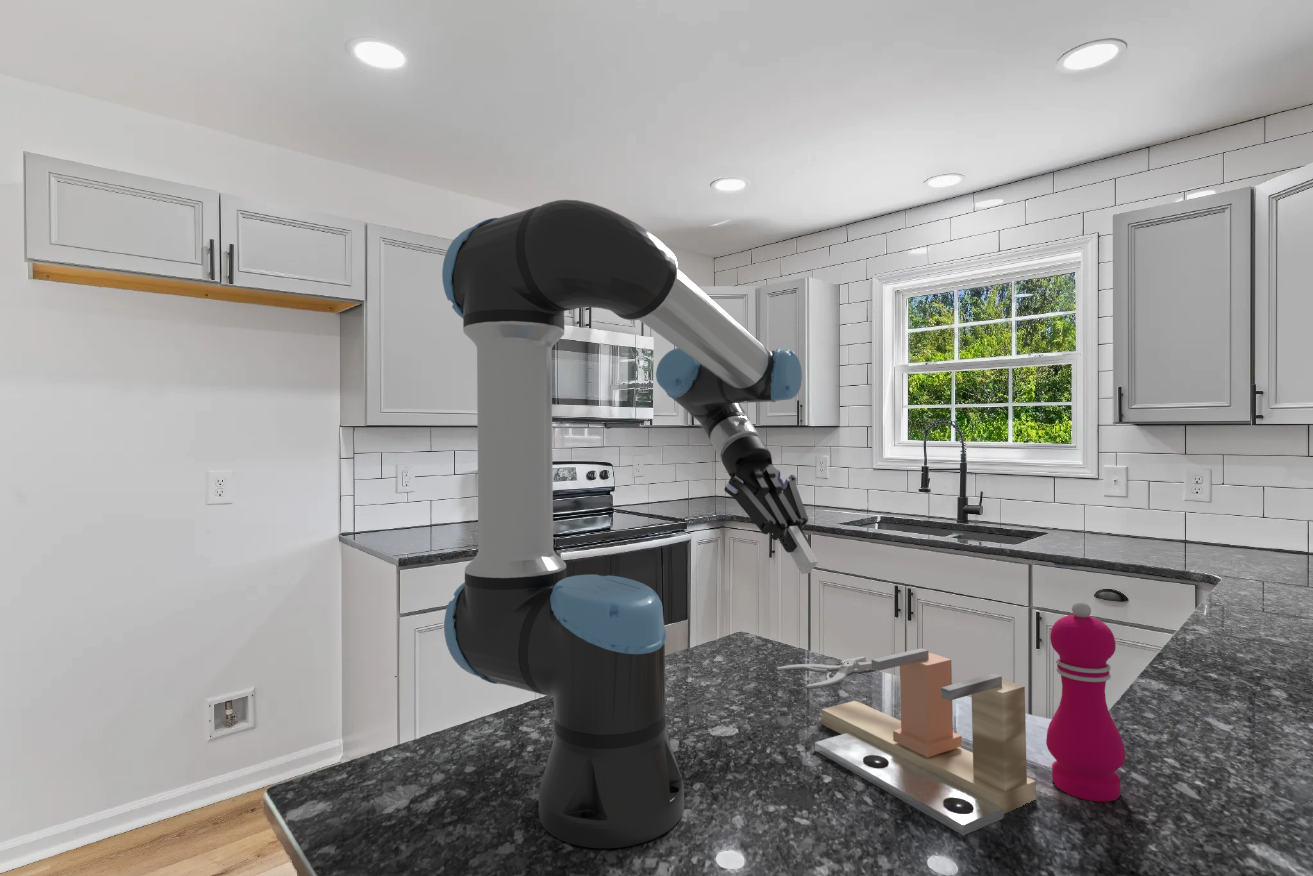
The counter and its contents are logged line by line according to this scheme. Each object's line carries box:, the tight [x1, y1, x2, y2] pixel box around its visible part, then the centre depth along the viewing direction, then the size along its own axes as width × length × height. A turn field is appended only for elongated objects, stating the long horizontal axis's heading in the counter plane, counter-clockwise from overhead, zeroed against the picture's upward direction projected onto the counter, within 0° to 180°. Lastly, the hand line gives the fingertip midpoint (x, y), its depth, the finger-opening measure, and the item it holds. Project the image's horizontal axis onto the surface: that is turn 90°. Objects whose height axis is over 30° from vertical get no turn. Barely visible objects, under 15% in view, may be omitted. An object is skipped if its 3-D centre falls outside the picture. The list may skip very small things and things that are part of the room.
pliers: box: [776, 655, 876, 689], centre depth 112 cm, size 10×2×15 cm
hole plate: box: [814, 732, 1005, 836], centre depth 76 cm, size 6×21×1 cm, turn 28°
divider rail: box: [821, 673, 1037, 815], centre depth 80 cm, size 11×26×13 cm, turn 28°
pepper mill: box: [1045, 601, 1126, 803], centre depth 74 cm, size 7×7×20 cm
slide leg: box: [871, 647, 963, 757], centre depth 79 cm, size 11×5×11 cm, turn 118°
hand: (809, 567), depth 98 cm, fingers closed
